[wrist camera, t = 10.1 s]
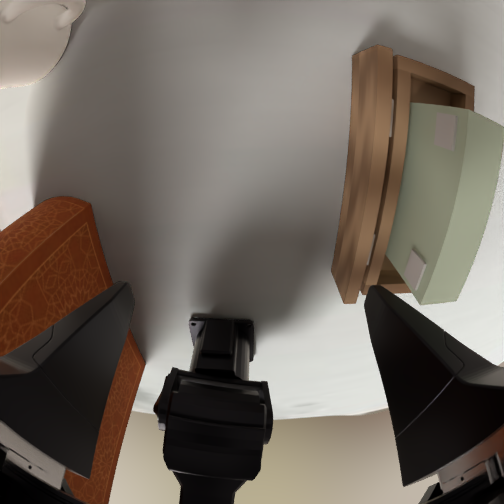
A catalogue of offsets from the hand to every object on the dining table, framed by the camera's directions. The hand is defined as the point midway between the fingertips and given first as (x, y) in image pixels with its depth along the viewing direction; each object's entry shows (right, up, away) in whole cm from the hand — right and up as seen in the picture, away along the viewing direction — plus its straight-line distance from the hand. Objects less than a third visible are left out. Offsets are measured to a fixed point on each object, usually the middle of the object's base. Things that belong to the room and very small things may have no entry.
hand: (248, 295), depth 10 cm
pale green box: (+13, +7, +8) cm, 16 cm away
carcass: (+13, +8, +9) cm, 17 cm away
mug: (-17, +20, +3) cm, 26 cm away
